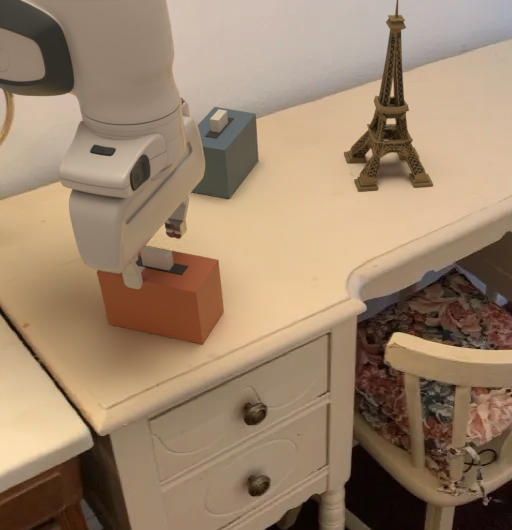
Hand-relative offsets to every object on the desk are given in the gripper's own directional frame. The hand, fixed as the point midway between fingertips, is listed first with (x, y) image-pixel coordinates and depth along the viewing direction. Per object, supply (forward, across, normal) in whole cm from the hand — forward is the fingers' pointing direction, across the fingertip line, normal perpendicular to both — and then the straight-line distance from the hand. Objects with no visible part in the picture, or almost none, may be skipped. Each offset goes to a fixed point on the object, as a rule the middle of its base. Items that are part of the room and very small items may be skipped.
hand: (157, 258), depth 86 cm
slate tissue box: (+8, -31, -6) cm, 33 cm away
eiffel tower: (+8, -40, +15) cm, 44 cm away
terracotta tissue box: (+8, 0, 0) cm, 8 cm away
